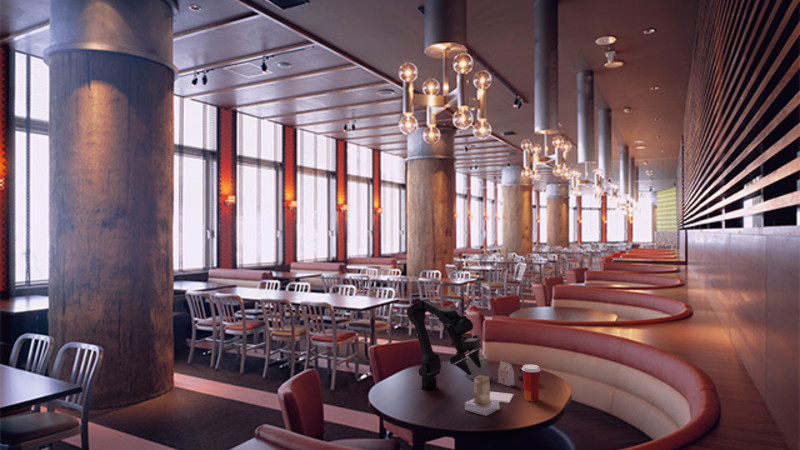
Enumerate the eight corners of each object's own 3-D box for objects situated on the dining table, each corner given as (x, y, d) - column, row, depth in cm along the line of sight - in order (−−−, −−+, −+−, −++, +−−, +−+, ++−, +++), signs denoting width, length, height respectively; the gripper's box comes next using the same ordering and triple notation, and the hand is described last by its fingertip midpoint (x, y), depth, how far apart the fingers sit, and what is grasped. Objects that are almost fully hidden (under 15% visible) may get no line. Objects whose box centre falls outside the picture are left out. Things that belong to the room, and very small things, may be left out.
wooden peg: (474, 409, 200) (473, 377, 200) (480, 406, 203) (480, 375, 203) (483, 412, 197) (483, 379, 197) (490, 409, 200) (489, 377, 200)
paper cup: (541, 397, 213) (540, 364, 213) (540, 403, 206) (539, 369, 206) (522, 395, 216) (522, 363, 216) (521, 401, 208) (520, 368, 208)
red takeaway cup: (546, 371, 229) (526, 366, 242) (534, 369, 226) (514, 364, 240) (544, 387, 228) (524, 381, 241) (532, 385, 225) (512, 379, 238)
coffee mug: (491, 377, 242) (490, 357, 242) (476, 381, 237) (475, 360, 237) (472, 371, 253) (472, 351, 253) (458, 374, 248) (457, 354, 248)
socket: (465, 409, 199) (464, 402, 200) (478, 403, 207) (478, 396, 207) (486, 416, 193) (485, 408, 193) (499, 408, 200) (499, 401, 200)
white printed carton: (503, 381, 236) (502, 360, 236) (514, 384, 230) (513, 363, 230) (498, 383, 233) (497, 361, 233) (509, 386, 228) (508, 365, 228)
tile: (476, 399, 212) (476, 397, 212) (482, 391, 221) (482, 390, 221) (509, 403, 206) (509, 401, 206) (513, 395, 216) (513, 394, 216)
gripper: (460, 336, 200) (480, 371, 196) (480, 324, 215) (499, 357, 211) (441, 347, 206) (459, 381, 202) (462, 334, 221) (479, 366, 217)
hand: (475, 371), depth 208 cm, fingers open, 9 cm apart
